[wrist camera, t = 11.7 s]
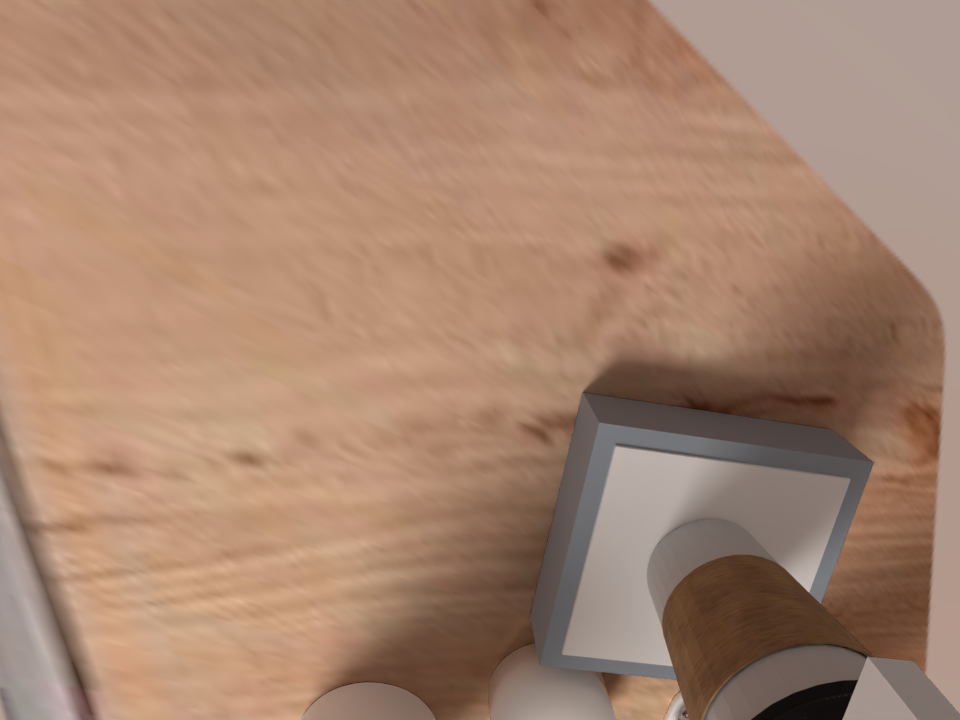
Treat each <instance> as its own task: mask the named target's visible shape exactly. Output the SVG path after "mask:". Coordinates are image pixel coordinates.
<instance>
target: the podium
mask: <svg viewBox="0 0 960 720" xmlns="http://www.w3.org/2000/svg"><path fill="white" fill-rule="evenodd" d="M873 464H874V462H873V461H872V460H870V459H869V458H868V457H867V456H865V455H864V454H863V453H861V452H860V451H859V450H857V449H856V448H855V447H854V446H852V445H851V444H850V443H848V442H847V441H846V440H845V439H843V438H842V437H841V436H839V435H838V434H837V433H835V432H834V431H833V430H831V429H825V428H818V427H811V426H804V425H798V424H791V423H784V422H778V421H771V420H764V419H757V418H751V417H744V416H737V415H730V414H724V413H717V412H710V411H704V410H697V409H690V408H683V407H677V406H670V405H663V404H657V403H650V402H643V401H636V400H630V399H623V398H616V397H609V396H603V395H596V394H589V393H582V397H581V401H580V406H579V410H578V414H577V418H576V423H575V427H574V431H573V435H572V439H571V444H570V448H569V452H568V456H567V461H566V465H565V469H564V473H563V478H562V482H561V486H560V490H559V495H558V499H557V503H556V507H555V512H554V516H553V520H552V524H551V528H550V533H549V537H548V541H547V545H546V550H545V554H544V558H543V562H542V567H541V571H540V575H539V579H538V584H537V588H536V592H535V596H534V601H533V605H532V609H531V613H530V621H531V626H532V631H533V636H534V641H535V646H536V651H537V656H538V661H539V666H548V667H557V668H567V669H577V670H586V671H596V672H606V673H615V674H625V675H634V676H644V677H654V678H663V679H673V680H677V678H676V675H675V672H674V668H673V665H672V662H671V659H670V655H669V652H668V649H667V645H666V642H665V639H664V636H663V630H662V627H661V624H660V621H659V618H658V615H657V612H656V609H655V606H654V603H653V601H652V598H651V595H650V592H649V589H648V584H647V568H648V564H649V561H650V558H651V555H652V553H653V552H654V550H655V548H656V547H657V545H658V544H659V543H660V542H661V541H662V540H663V539H664V537H666V536H667V535H668V534H669V533H671V532H672V531H673V530H675V529H677V528H679V527H680V526H682V525H684V524H687V523H690V522H693V521H697V520H703V519H720V520H726V521H730V522H732V523H735V524H737V525H739V526H741V527H742V528H744V529H745V530H747V531H748V532H749V533H750V534H751V535H752V536H753V537H754V538H755V539H756V540H757V541H758V542H759V544H760V545H761V546H762V547H763V548H764V549H765V550H766V551H767V552H768V553H769V554H770V555H771V556H772V557H773V558H774V559H775V560H776V561H777V563H778V564H779V565H780V566H782V567H783V568H785V569H786V570H787V571H788V572H789V573H790V574H791V575H792V576H793V577H794V578H795V579H796V580H797V581H798V582H799V583H800V584H801V585H802V586H803V587H804V588H805V589H806V590H807V591H808V592H809V593H810V594H811V595H812V596H813V597H814V598H815V599H816V600H817V601H818V602H819V603H820V604H821V602H822V600H823V597H824V594H825V592H826V589H827V586H828V584H829V581H830V578H831V576H832V573H833V570H834V568H835V565H836V562H837V560H838V557H839V554H840V552H841V549H842V546H843V544H844V541H845V538H846V536H847V533H848V530H849V528H850V525H851V522H852V520H853V517H854V514H855V512H856V509H857V506H858V504H859V501H860V498H861V496H862V493H863V490H864V488H865V485H866V482H867V480H868V477H869V474H870V472H871V469H872V466H873Z"/></svg>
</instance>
